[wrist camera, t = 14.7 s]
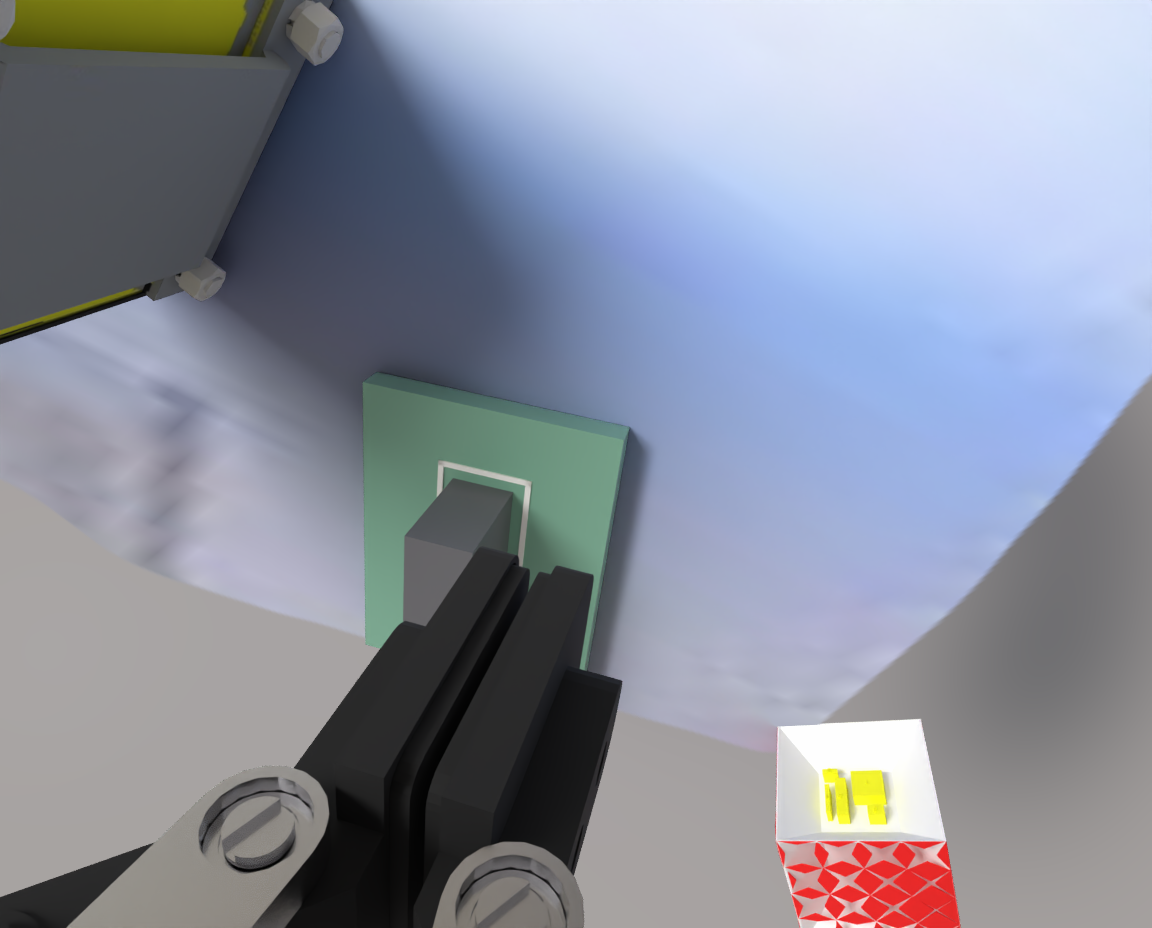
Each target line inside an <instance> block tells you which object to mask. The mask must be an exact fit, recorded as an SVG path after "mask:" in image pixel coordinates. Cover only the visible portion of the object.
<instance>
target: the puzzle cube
mask: <svg viewBox="0 0 1152 928" xmlns="http://www.w3.org/2000/svg"><path fill="white" fill-rule="evenodd" d="M776 777H777V782H776V821H775V837H776V838H775V839H776V844H777V848H778V852H779V855H780V859H781V862H782V864H783V868H784V872H785V875H786V879H787V882H788V885H789V889H790V893H791V896H792V900H793V903H794V907H795V910H796V914H797V917H798V922H799V927H800V928H961V925H960V919H959V913H958V907H957V901H956V895H955V889H954V883H953V877H952V871H951V866H950V860H949V854H948V848H947V842H946V837H945V832H944V828H943V823H942V818H941V813H940V809H939V804H938V799H937V794H936V789H935V785H934V780H933V775H932V770H931V766H930V760H929V756H928V752H927V746H926V741H925V737H924V732H923V726H922V722H921V719H909V720H889V721H888V720H887V721H868V722H849V723H848V722H847V723H826V724H819V725H807V726H787V727H778V728H777V776H776Z"/></svg>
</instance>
